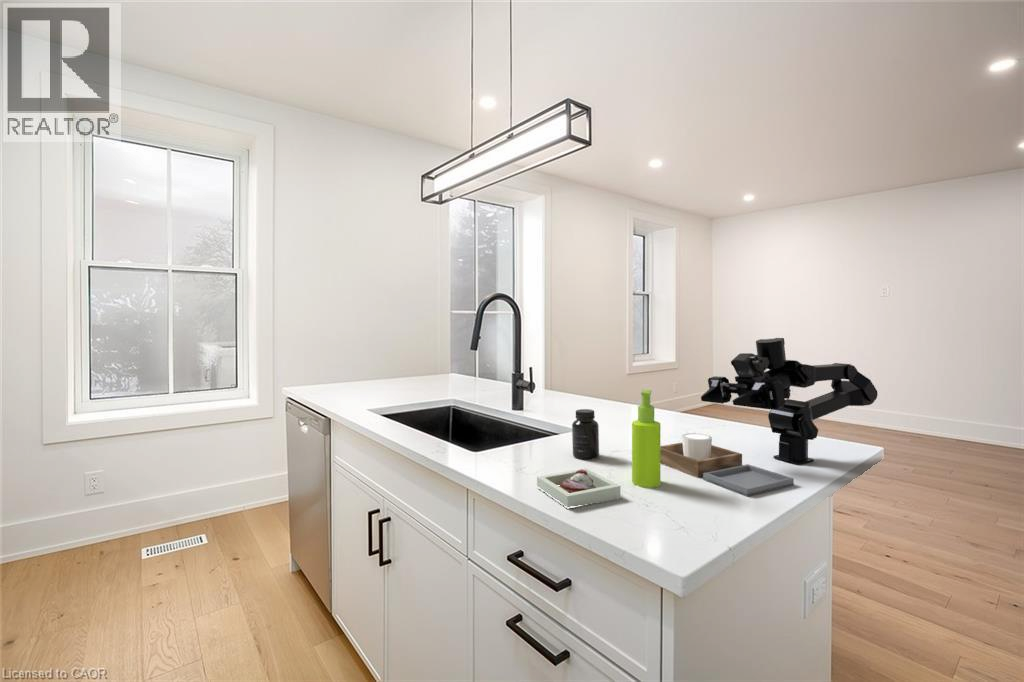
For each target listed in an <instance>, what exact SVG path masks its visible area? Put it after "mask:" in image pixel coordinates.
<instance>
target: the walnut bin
mask: <svg viewBox="0 0 1024 682" xmlns="http://www.w3.org/2000/svg"><path fill="white" fill-rule="evenodd" d="M661 464H662V465H664V466H667V467H669V468H672V469H674V470H677V471H679V472H682V473H684V474H687V475H690V476H693V477H695V478H697V479H698V478H703V473H706V472H711V471H716V470H721V469H726V468H731V467H736V466H741V465H743V454H742V453H739V452H738V451H733V450H730V449H727V448H723V447H719V446H716V445H712V444H711V453H710V458H708V459H702V460H695V459H692V458H690V457H687V456H684V453H683V443H682V442H677V443H671V444H670V443H669V444H664V445H660V465H661Z"/></svg>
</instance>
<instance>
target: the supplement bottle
mask: <svg viewBox="0 0 1024 682" xmlns="http://www.w3.org/2000/svg"><path fill="white" fill-rule="evenodd" d="M595 417H596V416H595V411H594V409H591V408H590V409H589V408H588V409H587V408H582V409H576V410H575V419H576V420H574V421H573V422H572V424H571V431H572V432H571V434H572V437H571V440H572V456H573V457H574V458H575V459H577V460H584V461H585V460H587V461H589V460H595V459H597V458H599V455H600V437H599V436H600V433H599V432H600V431H599V430H600V429H599V423H598V421H596V420H595Z"/></svg>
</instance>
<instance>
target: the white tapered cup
mask: <svg viewBox="0 0 1024 682" xmlns="http://www.w3.org/2000/svg"><path fill="white" fill-rule="evenodd" d="M681 439H682V440H681V441H682V442H681V443H683V453H684V456H687V457H690V458H692V459H695V460H702V459H708V458H710V453H711V445H712V442H713V437H712V436H711V435H708V434H703V433H695V432H693V433H683V434H682V435H681Z"/></svg>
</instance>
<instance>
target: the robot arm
mask: <svg viewBox="0 0 1024 682" xmlns="http://www.w3.org/2000/svg"><path fill="white" fill-rule="evenodd" d="M785 343H786V342H785V338H784V337H775V338H767V339H766V338H765V339H763V338H762V339H757V340H755V347H756V354H754V353H750V352H748V353H746V352H745V353H741V352H740V353H739V354H737V355H736V356H735V357H734V358H733V359H732V360H730V364H731V366H733V369H734V371H735V373H736V376H734V380H735V382H730V380H729V378H727V377H726V376H718V375H717V376H715V375H714V376H711V377H709V378H708V379H707V383H708V389H707V390H706V391H705V392H704V393H703V394H702V395H701V396H700V399H701V402H705V403H706V402H707V403H715V404H724V403H726V404H727V403H729V402H730V401H731V400H732V404H733V406H738V407H739V406H740V407H747V408H754V409H755V408H756V409H761V410H762V409H764V410H769V411H768V414H767V415H768V417H767V418H768V422H769V426H770V429H771V433H774V434H778V437H779V441H778V454H777V455H776V454H775V455H773V456H772V457H773V458H774V459H777V460H780V461H784V462H787V463H790V464H795V465H802V464H806V463H807V464H808V463H811V462H815V459H814V458H813V457H809V440H810V441H812V440H813V441H814V440H815V439H816V438H818V433H819V429H818V427H817V426H816V425H815V423H814V422H813V421H815V420H817V419H819V418H822V417H824V416H827V415H830V414H831V413H832V414H833V413H834V412H837V411H839V410H842V409H844V408H847V407H865V406H871V405H872V404H874V403H875V401H876V400H877V398H878V395H879V394H878V389H877V388H876V387H875V384H873V382H872V380H870V379H869V378H868V377H867V376H865V375H864V374H862V373H861V372H860V371H859V370H858V369H857V368H856V366H855V365H852V364H851V363H842V362H840V363H838V362H835V363H831V364H830V363H828V364H815V365H812V364H811V365H810V364H806V363H805V364H804V363H801V362H800V361H798V360H795V359H793V360H792V359H787V357H786V348H785ZM825 381H826V382H827V381H831V382H830V383H831V384H830V386H831V388H832V391H830V392H828V393H824V394H822V395H819V396H817V397H813V398H811V399H809V400H806V401H802V400H801V401H800V400H797V399H795V400H794V399H790V398H791V392H792V391H791V387H795V388H803V389H806V388H809V387H812V386H814V385H815V383H817V382H825ZM732 394H736V395H737V397H735V398H733V399H732V397H733V396H732Z"/></svg>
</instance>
